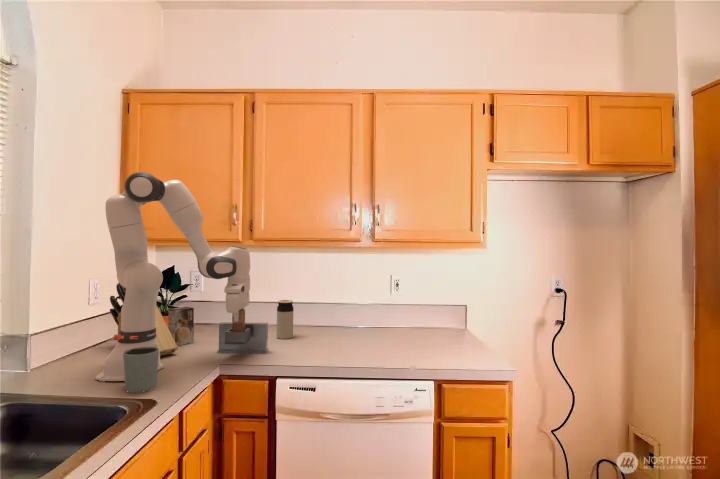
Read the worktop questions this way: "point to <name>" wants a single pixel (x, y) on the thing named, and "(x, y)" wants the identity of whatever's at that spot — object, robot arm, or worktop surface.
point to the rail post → (239, 322)
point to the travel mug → (285, 319)
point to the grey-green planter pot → (140, 368)
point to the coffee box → (181, 324)
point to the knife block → (163, 333)
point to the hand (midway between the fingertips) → (238, 320)
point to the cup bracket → (243, 338)
